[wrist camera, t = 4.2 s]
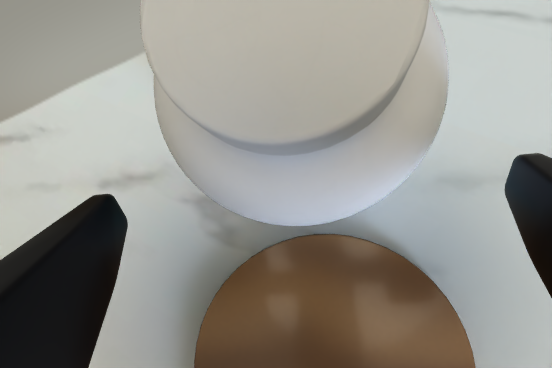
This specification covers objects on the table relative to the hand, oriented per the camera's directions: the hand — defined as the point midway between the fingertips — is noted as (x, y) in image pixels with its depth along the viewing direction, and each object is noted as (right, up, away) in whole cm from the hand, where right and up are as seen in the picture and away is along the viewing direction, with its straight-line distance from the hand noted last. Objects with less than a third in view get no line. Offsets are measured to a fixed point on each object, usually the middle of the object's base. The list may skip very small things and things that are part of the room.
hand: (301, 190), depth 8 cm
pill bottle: (+1, +2, +11) cm, 11 cm away
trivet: (+2, -9, +10) cm, 13 cm away
